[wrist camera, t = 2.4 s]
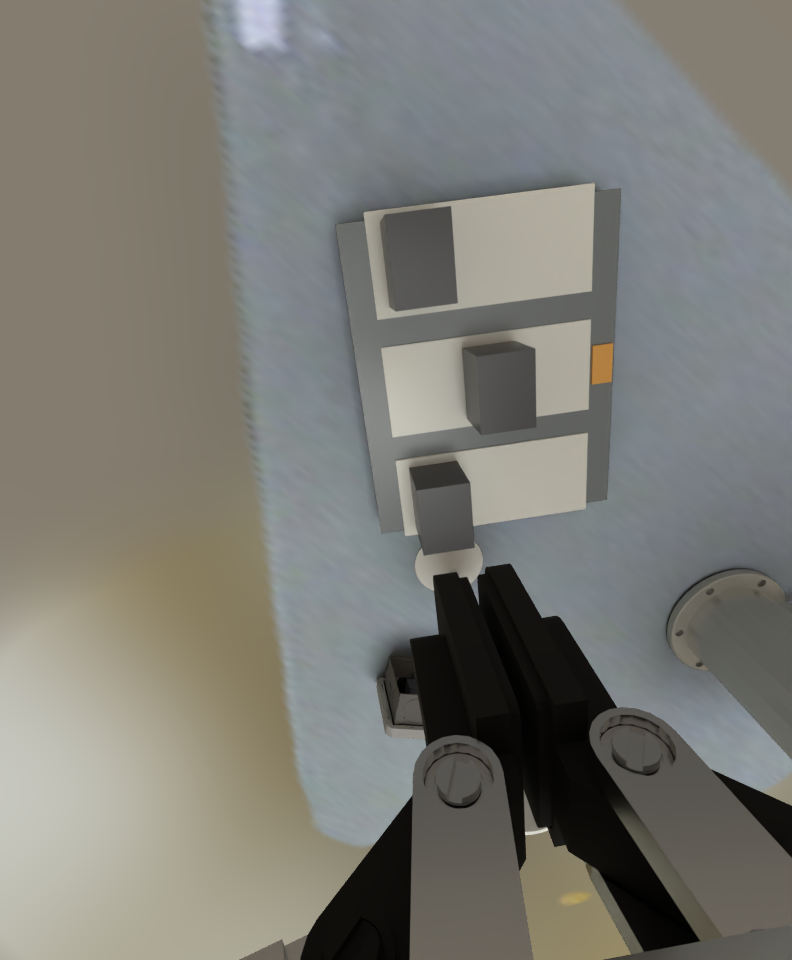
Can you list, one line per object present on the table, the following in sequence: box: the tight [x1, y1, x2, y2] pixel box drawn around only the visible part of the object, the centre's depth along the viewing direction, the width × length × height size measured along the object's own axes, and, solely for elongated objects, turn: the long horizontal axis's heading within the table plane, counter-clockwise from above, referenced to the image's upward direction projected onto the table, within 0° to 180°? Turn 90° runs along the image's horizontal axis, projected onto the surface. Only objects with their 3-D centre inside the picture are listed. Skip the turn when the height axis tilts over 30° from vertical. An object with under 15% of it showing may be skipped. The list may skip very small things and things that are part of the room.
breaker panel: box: [335, 183, 621, 556], centre depth 38 cm, size 20×25×8 cm
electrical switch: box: [377, 656, 425, 739], centre depth 49 cm, size 9×5×9 cm, turn 79°
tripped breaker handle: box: [462, 341, 536, 435], centre depth 36 cm, size 4×6×4 cm
